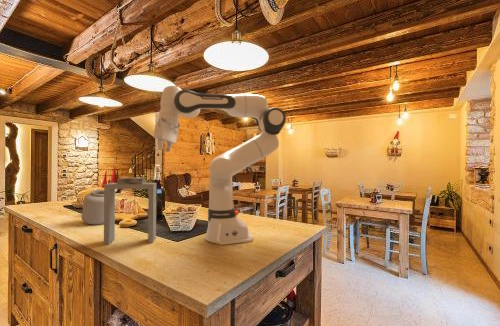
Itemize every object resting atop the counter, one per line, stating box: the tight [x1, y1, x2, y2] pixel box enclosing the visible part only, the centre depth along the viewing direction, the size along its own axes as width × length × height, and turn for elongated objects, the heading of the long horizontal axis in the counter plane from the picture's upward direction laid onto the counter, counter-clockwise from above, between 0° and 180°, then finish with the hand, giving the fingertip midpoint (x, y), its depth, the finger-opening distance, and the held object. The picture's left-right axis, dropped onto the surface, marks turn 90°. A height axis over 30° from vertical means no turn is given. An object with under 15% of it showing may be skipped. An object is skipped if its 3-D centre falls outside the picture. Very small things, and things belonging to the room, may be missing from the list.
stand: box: [103, 182, 157, 246], centre depth 112 cm, size 20×7×26 cm, turn 100°
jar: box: [81, 179, 104, 226], centre depth 143 cm, size 19×15×25 cm
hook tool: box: [116, 176, 146, 184], centre depth 117 cm, size 10×16×2 cm, turn 10°
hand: (164, 150), depth 115 cm, fingers open, 8 cm apart
